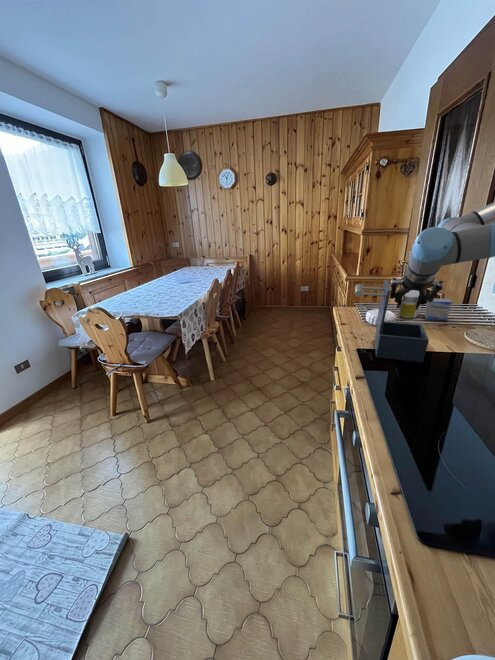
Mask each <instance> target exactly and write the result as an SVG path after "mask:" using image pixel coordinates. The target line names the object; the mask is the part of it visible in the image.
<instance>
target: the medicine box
mask: <svg viewBox="0 0 495 660" xmlns="http://www.w3.org/2000/svg"><path fill="white" fill-rule="evenodd" d="M452 304H453V302H452V301H451V299H450V298H438V297H437V298H436V297H435V298H434V300H433V301H432V302H428V301H426V304H425V305H426V306H425V310H424V314H423V316H424V318H425V319H426V320H427V321H444V322H445V321H446V322H447V321H448V317H449V314H450V311H451V308H452Z"/></svg>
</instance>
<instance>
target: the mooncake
mask: <svg viewBox="0 0 495 660" xmlns="http://www.w3.org/2000/svg"><path fill="white" fill-rule="evenodd" d="M378 311H379V308H375V309H370V310H368V311H367V312H366V313H365V314H366V315H365V321H366V322H367V323H368V324H370V325H373V326H375V327H377V316H378ZM384 322H396V323H397V314H396V313H395V312H393V311H391V310H388V309H387V310H386V315H385V319H384Z"/></svg>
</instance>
